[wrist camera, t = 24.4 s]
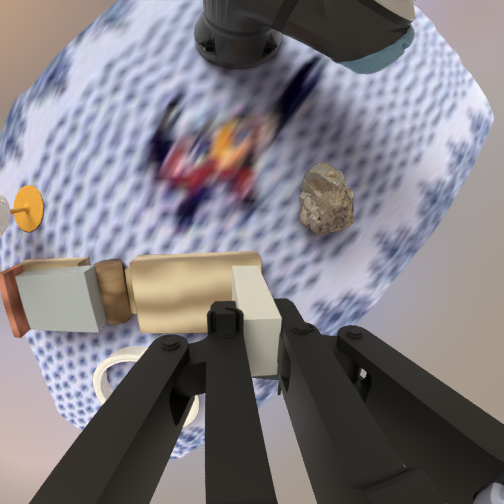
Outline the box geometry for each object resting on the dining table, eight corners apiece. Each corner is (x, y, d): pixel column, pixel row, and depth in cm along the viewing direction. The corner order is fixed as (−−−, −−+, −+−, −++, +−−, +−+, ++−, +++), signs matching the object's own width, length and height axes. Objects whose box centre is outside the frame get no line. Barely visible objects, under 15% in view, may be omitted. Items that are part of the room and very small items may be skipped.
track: (27, 259, 40) (-4, 274, 30) (256, 251, 45) (267, 268, 35) (39, 314, 43) (14, 336, 33) (256, 316, 48) (266, 347, 38)
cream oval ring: (172, 435, 54) (170, 449, 49) (89, 398, 49) (83, 410, 44) (225, 361, 50) (226, 375, 45) (120, 309, 45) (111, 321, 40)
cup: (48, 191, 38) (-9, 196, 22) (39, 237, 40) (-14, 258, 24) (18, 180, 36) (-36, 183, 21) (11, 224, 38) (-41, 239, 22)
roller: (123, 257, 43) (97, 261, 42) (118, 265, 39) (90, 268, 37) (133, 310, 46) (108, 313, 44) (130, 322, 41) (103, 325, 39)
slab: (27, 270, 36) (15, 276, 32) (94, 264, 38) (84, 272, 34) (40, 320, 39) (30, 329, 35) (107, 321, 40) (99, 332, 36)
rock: (295, 228, 48) (341, 253, 42) (266, 195, 39) (323, 222, 33) (321, 188, 48) (368, 208, 42) (299, 148, 39) (356, 167, 33)
